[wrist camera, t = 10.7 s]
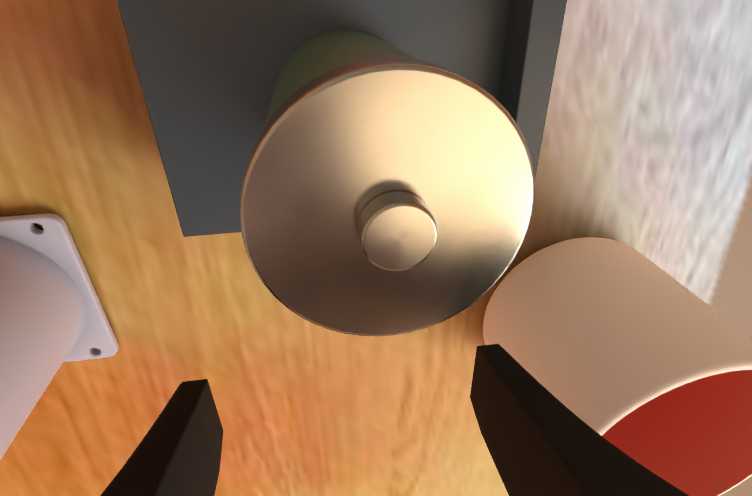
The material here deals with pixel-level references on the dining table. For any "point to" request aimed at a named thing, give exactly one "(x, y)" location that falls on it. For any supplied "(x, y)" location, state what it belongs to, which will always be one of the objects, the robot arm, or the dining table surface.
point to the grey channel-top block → (279, 41)
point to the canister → (382, 188)
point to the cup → (632, 359)
